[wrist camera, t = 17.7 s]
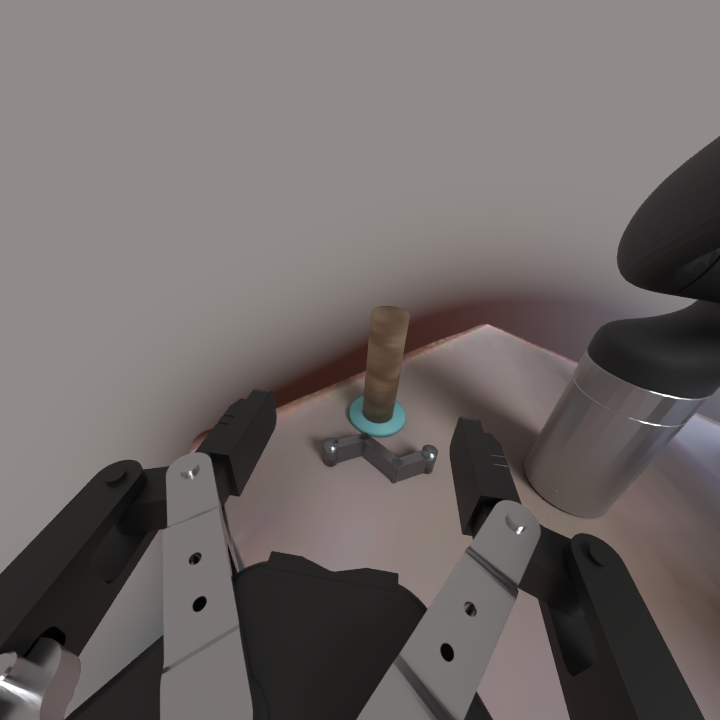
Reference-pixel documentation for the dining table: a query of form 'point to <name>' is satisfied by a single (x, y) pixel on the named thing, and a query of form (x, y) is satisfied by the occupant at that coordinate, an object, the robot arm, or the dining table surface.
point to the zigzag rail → (379, 456)
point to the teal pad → (374, 428)
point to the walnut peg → (384, 362)
